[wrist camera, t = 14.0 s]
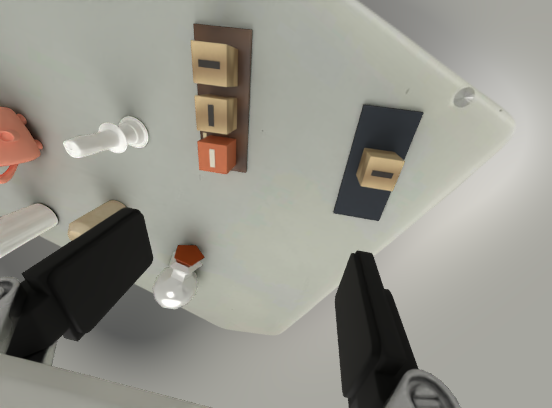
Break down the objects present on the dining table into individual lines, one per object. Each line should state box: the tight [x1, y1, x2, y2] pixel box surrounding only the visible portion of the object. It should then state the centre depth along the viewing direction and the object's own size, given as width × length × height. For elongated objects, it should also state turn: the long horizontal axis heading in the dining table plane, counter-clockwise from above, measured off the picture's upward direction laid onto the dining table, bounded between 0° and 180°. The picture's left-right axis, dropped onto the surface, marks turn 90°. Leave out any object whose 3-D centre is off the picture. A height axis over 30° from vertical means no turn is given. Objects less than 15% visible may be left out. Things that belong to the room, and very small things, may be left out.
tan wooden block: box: [191, 40, 238, 87], centre depth 29 cm, size 4×4×5 cm
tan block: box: [356, 148, 405, 191], centre depth 32 cm, size 4×4×5 cm
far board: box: [193, 24, 252, 173], centre depth 34 cm, size 20×8×1 cm, turn 174°
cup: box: [0, 203, 58, 258], centre depth 46 cm, size 8×8×14 cm
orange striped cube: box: [197, 135, 236, 174], centre depth 35 cm, size 4×4×5 cm
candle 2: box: [68, 200, 126, 240], centre depth 44 cm, size 6×6×10 cm
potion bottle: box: [152, 245, 205, 309], centre depth 49 cm, size 9×10×15 cm
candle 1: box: [63, 116, 148, 158], centre depth 33 cm, size 5×5×12 cm
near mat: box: [334, 105, 423, 221], centre depth 35 cm, size 18×8×1 cm, turn 174°
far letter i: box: [195, 94, 237, 135], centre depth 32 cm, size 4×4×5 cm
